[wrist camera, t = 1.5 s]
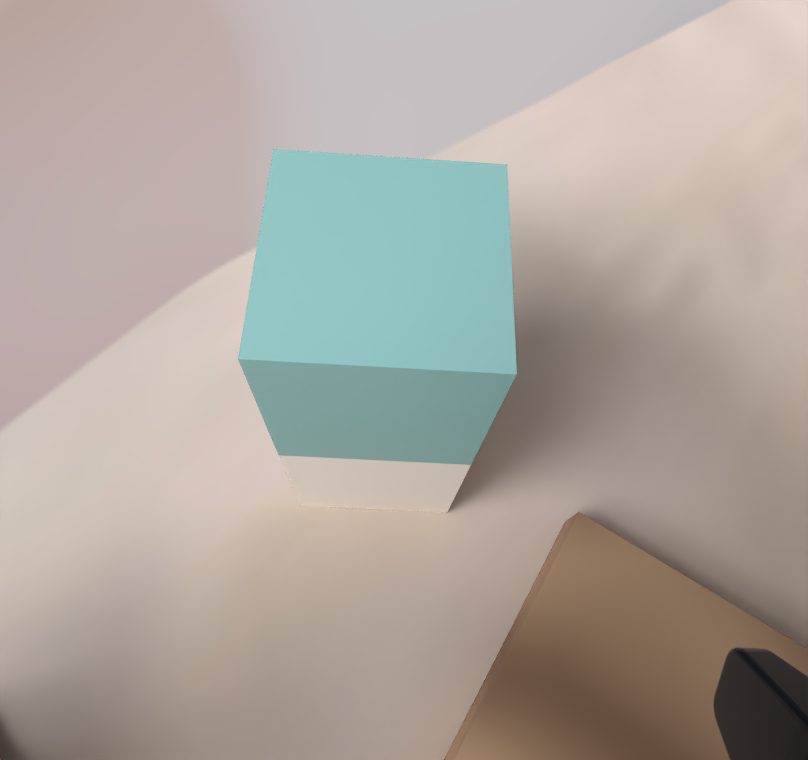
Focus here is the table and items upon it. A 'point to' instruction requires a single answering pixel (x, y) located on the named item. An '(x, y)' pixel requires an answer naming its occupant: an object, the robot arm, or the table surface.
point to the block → (380, 324)
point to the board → (611, 660)
